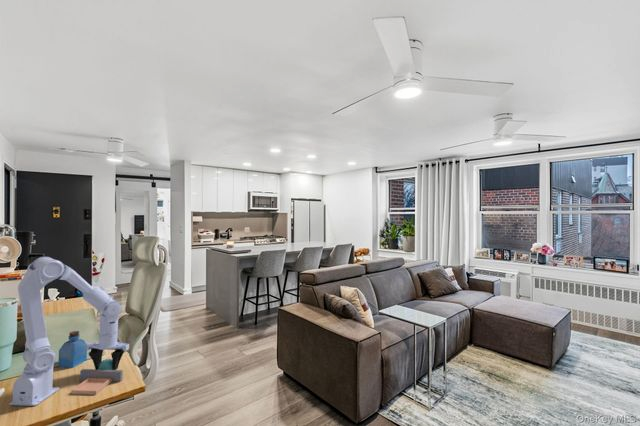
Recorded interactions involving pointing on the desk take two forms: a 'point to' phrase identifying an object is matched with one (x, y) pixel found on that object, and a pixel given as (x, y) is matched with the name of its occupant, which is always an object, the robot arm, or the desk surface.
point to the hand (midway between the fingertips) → (106, 369)
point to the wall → (101, 374)
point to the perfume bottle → (72, 351)
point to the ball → (106, 364)
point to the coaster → (91, 386)
